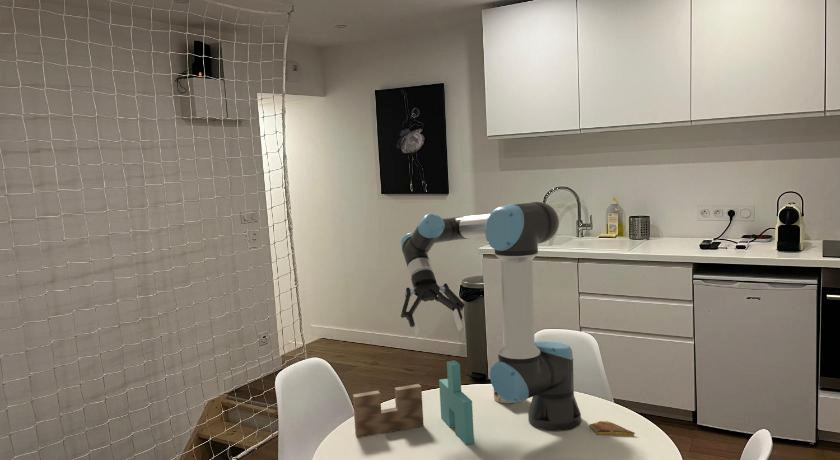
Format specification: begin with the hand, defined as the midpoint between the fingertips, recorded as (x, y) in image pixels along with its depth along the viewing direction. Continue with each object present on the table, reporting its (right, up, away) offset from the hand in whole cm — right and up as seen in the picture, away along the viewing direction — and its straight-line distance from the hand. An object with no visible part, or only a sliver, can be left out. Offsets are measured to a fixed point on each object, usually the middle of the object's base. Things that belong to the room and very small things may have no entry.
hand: (439, 332), depth 188 cm
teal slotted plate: (+5, -27, -7) cm, 28 cm away
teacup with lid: (+22, -24, +13) cm, 35 cm away
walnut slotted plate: (-15, -28, -5) cm, 32 cm away
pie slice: (+48, -26, -13) cm, 56 cm away
